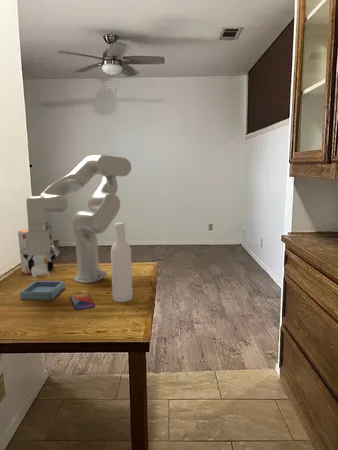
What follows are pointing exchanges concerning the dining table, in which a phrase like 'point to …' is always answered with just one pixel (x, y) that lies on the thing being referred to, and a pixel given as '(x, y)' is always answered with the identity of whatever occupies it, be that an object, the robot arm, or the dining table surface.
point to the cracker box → (22, 244)
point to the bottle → (121, 266)
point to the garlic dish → (42, 290)
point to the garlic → (39, 270)
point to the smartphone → (82, 301)
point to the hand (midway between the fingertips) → (41, 270)
